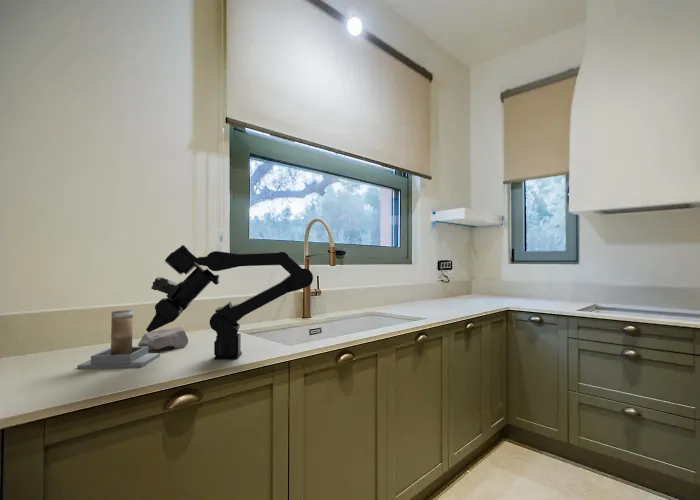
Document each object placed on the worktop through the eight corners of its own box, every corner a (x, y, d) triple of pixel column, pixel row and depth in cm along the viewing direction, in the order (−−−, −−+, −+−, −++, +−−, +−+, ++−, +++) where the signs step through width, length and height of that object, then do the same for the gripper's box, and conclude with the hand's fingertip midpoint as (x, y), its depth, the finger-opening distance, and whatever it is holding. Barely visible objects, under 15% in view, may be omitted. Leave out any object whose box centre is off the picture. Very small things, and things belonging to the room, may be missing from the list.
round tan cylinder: (136, 357, 104) (137, 310, 104) (120, 362, 99) (121, 313, 99) (122, 355, 105) (123, 309, 105) (105, 360, 100) (106, 312, 100)
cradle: (160, 356, 108) (160, 345, 108) (141, 367, 97) (141, 355, 97) (102, 357, 107) (103, 346, 107) (77, 368, 96) (77, 356, 96)
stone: (145, 355, 110) (146, 334, 110) (136, 349, 117) (137, 330, 117) (191, 348, 119) (191, 329, 119) (180, 343, 126) (181, 325, 126)
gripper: (176, 264, 113) (138, 302, 111) (162, 269, 95) (116, 315, 93) (205, 288, 116) (167, 326, 113) (196, 297, 98) (152, 343, 95)
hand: (151, 327), depth 104 cm, fingers open, 9 cm apart
